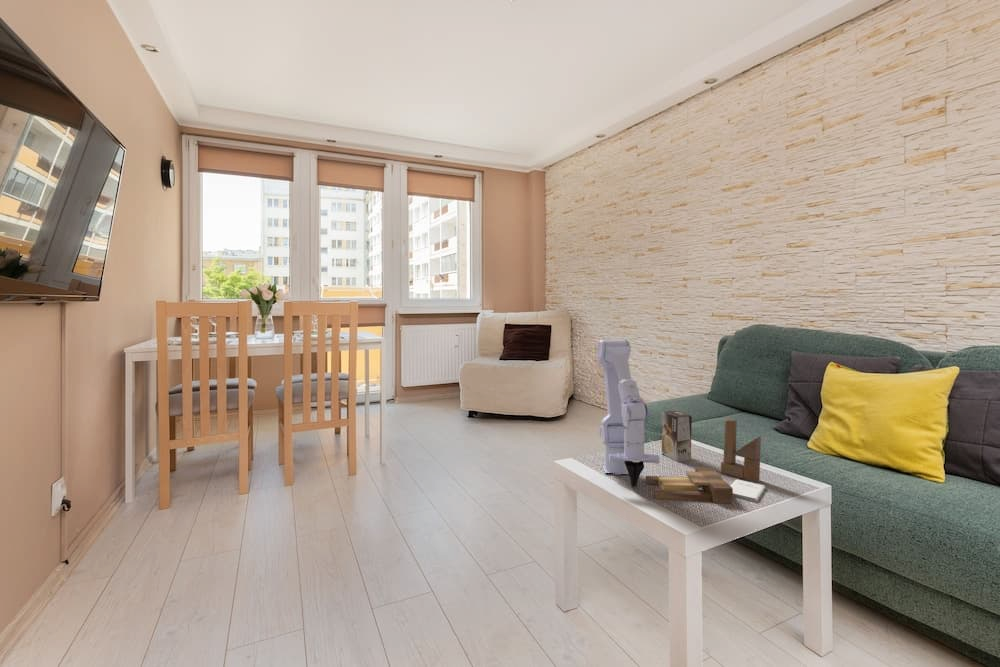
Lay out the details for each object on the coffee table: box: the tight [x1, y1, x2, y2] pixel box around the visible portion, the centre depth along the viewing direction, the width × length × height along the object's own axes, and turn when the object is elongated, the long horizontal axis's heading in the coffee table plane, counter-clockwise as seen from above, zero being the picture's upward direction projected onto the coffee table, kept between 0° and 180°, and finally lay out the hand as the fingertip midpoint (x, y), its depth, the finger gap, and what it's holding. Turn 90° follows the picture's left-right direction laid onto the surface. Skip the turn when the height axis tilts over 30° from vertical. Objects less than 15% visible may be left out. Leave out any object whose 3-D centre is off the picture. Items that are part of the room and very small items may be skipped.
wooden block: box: [720, 418, 762, 483], centre depth 148 cm, size 4×11×18 cm, turn 39°
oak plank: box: [657, 476, 700, 492], centre depth 138 cm, size 6×10×3 cm, turn 86°
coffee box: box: [661, 410, 693, 462], centre depth 167 cm, size 9×6×16 cm
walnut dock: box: [645, 467, 733, 504], centre depth 137 cm, size 16×20×4 cm
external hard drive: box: [730, 479, 766, 503], centre depth 136 cm, size 2×8×12 cm
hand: (633, 485), depth 139 cm, fingers closed
